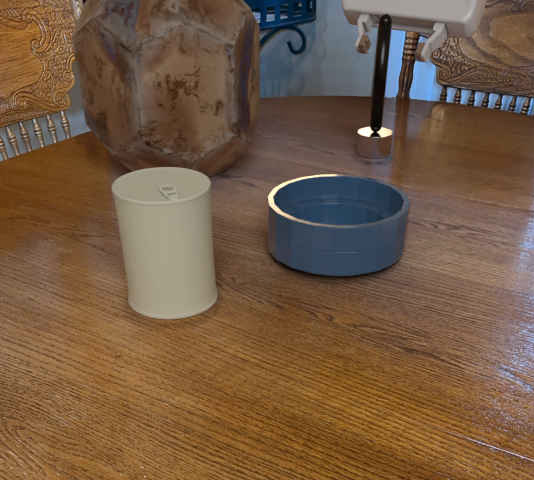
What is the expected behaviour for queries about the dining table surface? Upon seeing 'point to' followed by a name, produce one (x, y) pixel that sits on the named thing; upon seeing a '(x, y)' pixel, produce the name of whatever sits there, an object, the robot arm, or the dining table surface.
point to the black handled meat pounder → (378, 100)
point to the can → (167, 241)
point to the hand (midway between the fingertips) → (389, 54)
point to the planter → (170, 80)
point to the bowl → (337, 224)
